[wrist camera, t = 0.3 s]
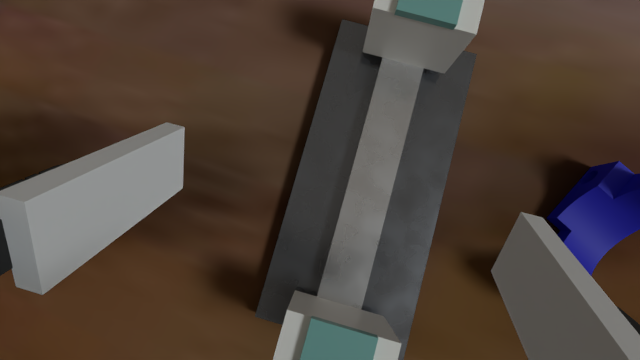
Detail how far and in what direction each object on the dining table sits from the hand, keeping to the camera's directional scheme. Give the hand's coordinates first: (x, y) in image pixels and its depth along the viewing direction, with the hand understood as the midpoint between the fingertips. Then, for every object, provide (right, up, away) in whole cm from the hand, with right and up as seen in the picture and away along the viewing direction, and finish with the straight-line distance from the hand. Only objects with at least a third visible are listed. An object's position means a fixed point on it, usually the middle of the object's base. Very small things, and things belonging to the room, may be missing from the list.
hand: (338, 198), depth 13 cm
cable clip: (+20, -4, +16) cm, 26 cm away
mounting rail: (+4, +1, +16) cm, 16 cm away
